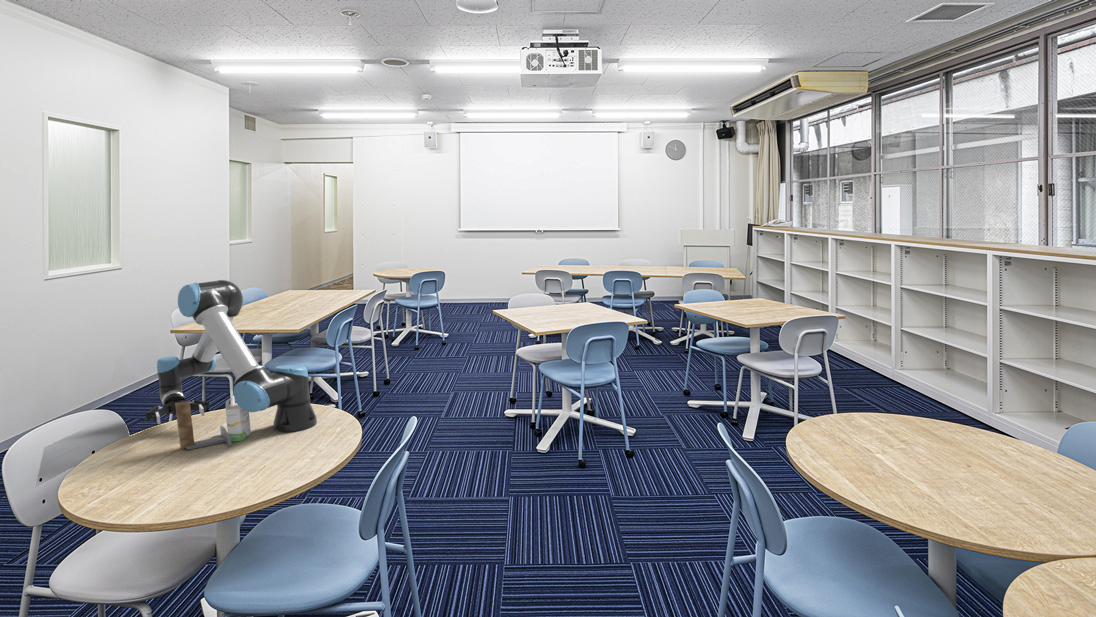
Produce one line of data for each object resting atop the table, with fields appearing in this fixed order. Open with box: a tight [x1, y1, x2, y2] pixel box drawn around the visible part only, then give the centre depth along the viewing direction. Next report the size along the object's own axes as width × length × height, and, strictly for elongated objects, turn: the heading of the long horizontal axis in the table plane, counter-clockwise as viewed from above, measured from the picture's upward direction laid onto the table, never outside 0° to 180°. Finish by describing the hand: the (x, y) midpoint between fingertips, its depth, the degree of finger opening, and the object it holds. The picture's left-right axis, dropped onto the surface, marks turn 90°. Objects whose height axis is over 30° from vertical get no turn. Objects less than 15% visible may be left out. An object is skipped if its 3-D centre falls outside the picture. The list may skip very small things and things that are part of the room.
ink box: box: [225, 395, 252, 442], centre depth 224 cm, size 9×5×15 cm, turn 6°
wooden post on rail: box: [175, 400, 233, 451], centre depth 217 cm, size 14×16×16 cm
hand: (181, 416), depth 221 cm, fingers open, 13 cm apart
